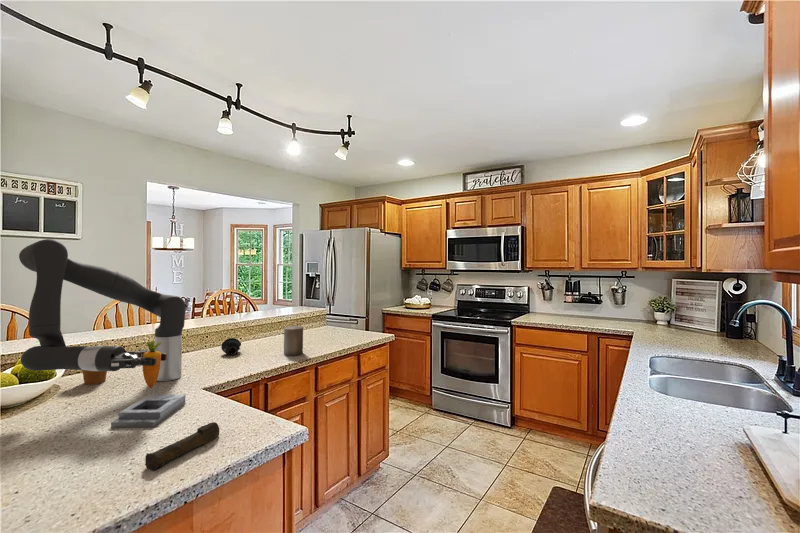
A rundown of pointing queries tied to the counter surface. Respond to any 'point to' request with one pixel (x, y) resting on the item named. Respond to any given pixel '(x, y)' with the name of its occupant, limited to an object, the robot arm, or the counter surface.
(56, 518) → the counter surface
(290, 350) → the pillar candle
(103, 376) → the disposable coffee cup
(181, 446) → the dark brown stick
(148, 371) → the carrot
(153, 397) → the shallow gray tray
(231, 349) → the black round flared piece
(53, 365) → the robot arm
